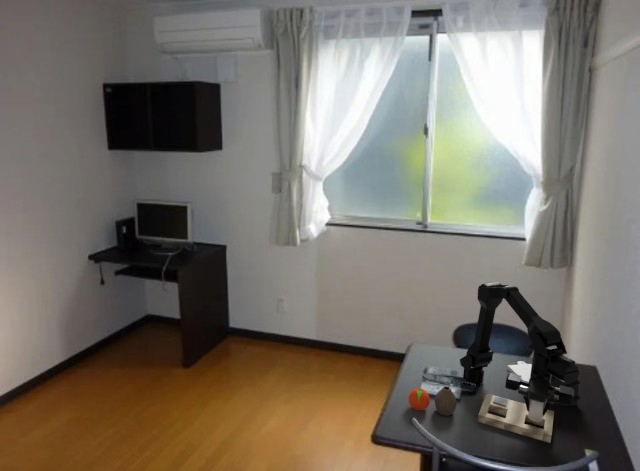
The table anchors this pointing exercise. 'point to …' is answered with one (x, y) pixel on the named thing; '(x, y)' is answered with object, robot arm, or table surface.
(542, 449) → the table surface
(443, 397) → the vase
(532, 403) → the plug
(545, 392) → the robot arm
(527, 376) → the mounting plate
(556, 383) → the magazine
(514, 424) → the socket board
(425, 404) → the clementine
